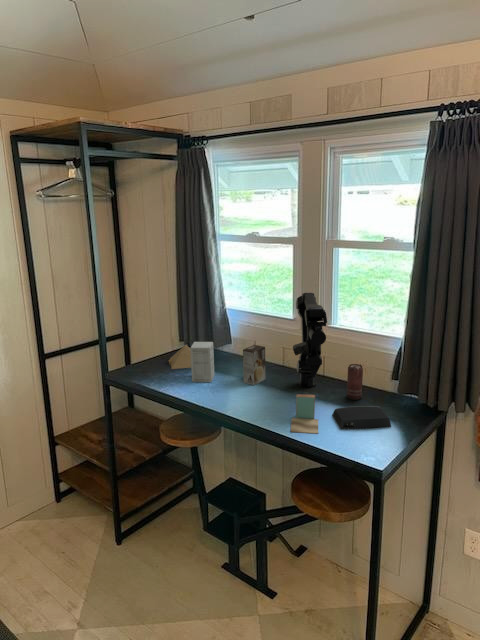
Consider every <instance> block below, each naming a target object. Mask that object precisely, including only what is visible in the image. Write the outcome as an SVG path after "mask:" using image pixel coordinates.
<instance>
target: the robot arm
mask: <svg viewBox="0 0 480 640" xmlns="http://www.w3.org/2000/svg"><path fill="white" fill-rule="evenodd" d="M295 308H296V310H297V314H298V316H299V317H300V319H301V320H300V321H301V342H299V343H296V344H294V345H292V350H293V353H294V356H298V360H297V363H296V372H297V374H298V375H299V376H300V378H299V381H296V383H297V384H298V385H299V386H300V387H302V388H303V389H304V388H305V389H306V388H311V387H316V386H317V384H316V383H314V378H315V377H316V375H317V374H318V372H319V369H320V368H321V366H322V365H323V356H321V354H322V345H324V344H325V342H326V341H327V335H326V333H325V332H324V330H323V327H327V323H328V319H327V318H328V317H327V312H326V310H325V309H324V306H322V305H321V304H318V303H317V297H315V293H314V292H302V294H301V295H300V296H298V297H297V298H296V301H295Z"/></svg>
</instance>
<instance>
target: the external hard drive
mask: <svg viewBox="0 0 480 640" xmlns="http://www.w3.org/2000/svg"><path fill="white" fill-rule="evenodd" d="M332 412H333V413H332V414H331V415H332V416H331V417H332V418H333V419H334V421H335V423H336V424H337V426H338V428H339V430H371V429H372V430H373V429H384V428H386V429H387V428H391V427H392V424H391V420H390V418H389V416H388V415H387V414H386V413H385V411H384V410H383V409H382V408H381V407H380V406H374V405H366V406H365V405H356V406H354V405H353V406H345V407H338V408H335V409H334V410H333V411H332Z"/></svg>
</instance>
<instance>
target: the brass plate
mask: <svg viewBox="0 0 480 640" xmlns="http://www.w3.org/2000/svg"><path fill="white" fill-rule="evenodd" d="M290 424H291V425H290V433H300V434H301V433H302V434H303V433H304V434H319V419H318V418H316V419H315V418H314V419H304V418H296V417H292V418H291V422H290Z"/></svg>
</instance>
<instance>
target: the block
mask: <svg viewBox="0 0 480 640" xmlns="http://www.w3.org/2000/svg"><path fill="white" fill-rule="evenodd" d="M295 396H296V400H295V401H296V402H295V403H296V404H295V418H303V419H315V413H316V411H315V410H316V409H315V407H316V394H304V393H303V394H300V393H299V394H298V393H296V395H295Z"/></svg>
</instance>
